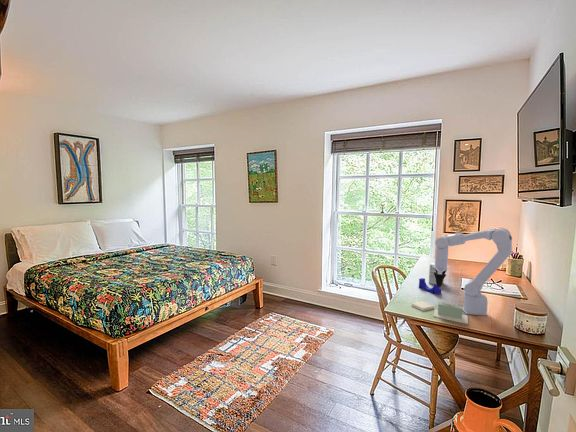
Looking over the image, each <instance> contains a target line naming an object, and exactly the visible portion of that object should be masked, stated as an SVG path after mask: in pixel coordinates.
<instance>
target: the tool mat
mask: <svg viewBox="0 0 576 432" xmlns="http://www.w3.org/2000/svg"><path fill="white" fill-rule="evenodd" d="M433 318H437V319H442V320H445V321H447V320H448V321H451V322H456V323H459V324H461V323H462V324H465V325H466V324H467V325H469V317H468V314H462V319H458V318H453V317H449V316H444V315H439V314H438V308H434V312H433Z"/></svg>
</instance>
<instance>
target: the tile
mask: <svg viewBox="0 0 576 432" xmlns="http://www.w3.org/2000/svg"><path fill="white" fill-rule="evenodd" d="M411 307H413V308H415V309H417V310H419V311H422V312H425V311H428V310H433V309H434V310H435V305H433V304H430V303H429V302H426V301H424V300H421V301H417V302H411Z"/></svg>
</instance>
